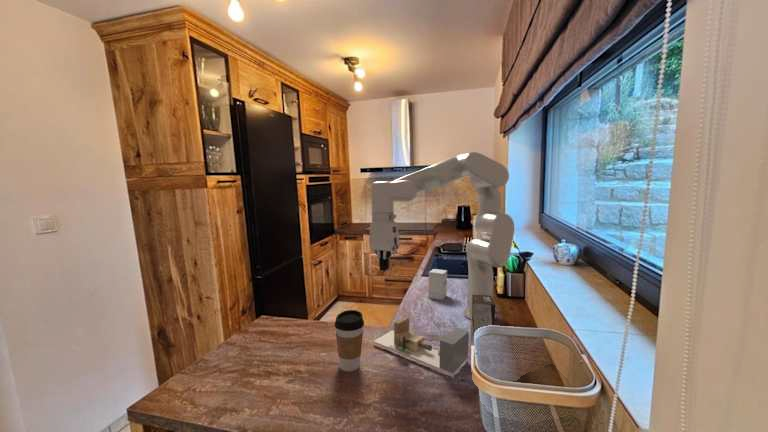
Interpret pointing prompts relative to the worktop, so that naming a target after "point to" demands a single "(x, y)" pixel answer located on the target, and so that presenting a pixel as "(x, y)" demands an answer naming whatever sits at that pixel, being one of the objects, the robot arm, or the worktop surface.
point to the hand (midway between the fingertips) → (384, 269)
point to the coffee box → (482, 312)
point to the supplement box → (437, 284)
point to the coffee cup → (349, 339)
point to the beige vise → (435, 351)
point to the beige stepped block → (408, 336)
